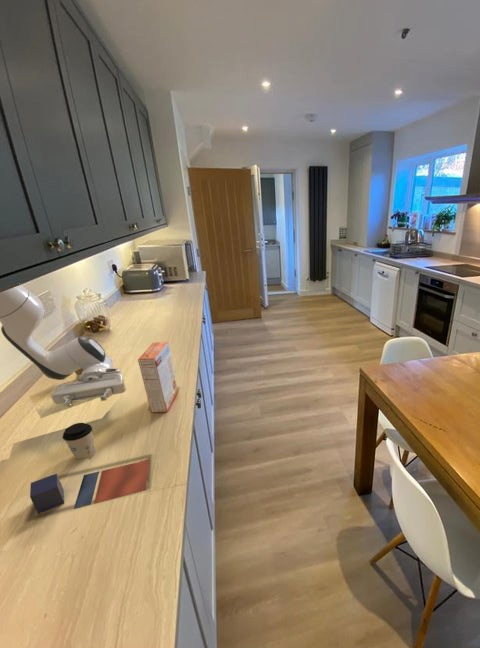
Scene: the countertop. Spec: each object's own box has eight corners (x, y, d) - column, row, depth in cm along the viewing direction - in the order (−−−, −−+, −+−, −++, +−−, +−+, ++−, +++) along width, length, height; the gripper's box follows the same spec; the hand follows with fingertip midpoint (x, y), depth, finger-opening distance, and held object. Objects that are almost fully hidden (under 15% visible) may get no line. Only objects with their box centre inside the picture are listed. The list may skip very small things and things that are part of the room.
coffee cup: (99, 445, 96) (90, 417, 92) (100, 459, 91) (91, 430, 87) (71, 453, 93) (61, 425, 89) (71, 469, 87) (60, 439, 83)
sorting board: (32, 523, 73) (31, 521, 72) (48, 484, 83) (47, 482, 82) (147, 492, 80) (147, 490, 80) (149, 460, 91) (149, 458, 90)
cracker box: (162, 392, 124) (152, 341, 115) (178, 391, 124) (169, 341, 115) (149, 413, 111) (136, 358, 102) (167, 412, 111) (156, 358, 102)
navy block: (39, 516, 73) (29, 497, 71) (39, 501, 77) (30, 482, 75) (65, 505, 76) (57, 486, 74) (64, 491, 80) (56, 473, 77)
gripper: (55, 378, 106) (41, 400, 94) (124, 367, 112) (120, 386, 101) (61, 394, 108) (49, 417, 97) (128, 383, 115) (124, 403, 103)
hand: (85, 401), depth 99 cm, fingers open, 8 cm apart
